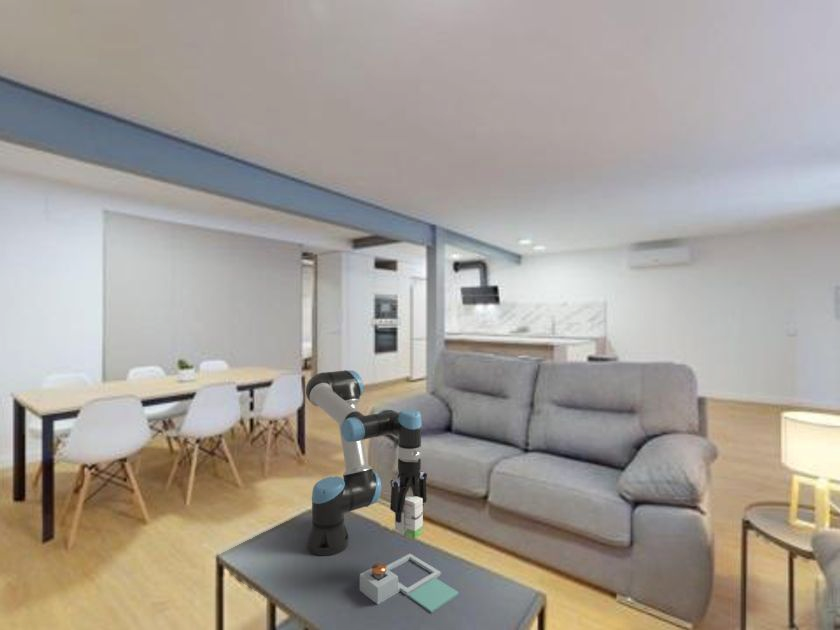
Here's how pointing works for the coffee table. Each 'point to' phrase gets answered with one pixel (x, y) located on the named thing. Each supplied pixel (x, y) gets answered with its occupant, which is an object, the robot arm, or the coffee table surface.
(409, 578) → the coffee table surface
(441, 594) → the mat
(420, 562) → the housing
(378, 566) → the plunger
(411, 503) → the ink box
